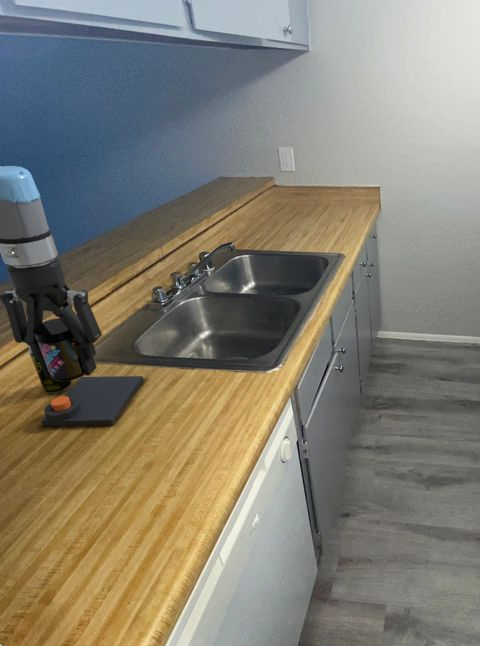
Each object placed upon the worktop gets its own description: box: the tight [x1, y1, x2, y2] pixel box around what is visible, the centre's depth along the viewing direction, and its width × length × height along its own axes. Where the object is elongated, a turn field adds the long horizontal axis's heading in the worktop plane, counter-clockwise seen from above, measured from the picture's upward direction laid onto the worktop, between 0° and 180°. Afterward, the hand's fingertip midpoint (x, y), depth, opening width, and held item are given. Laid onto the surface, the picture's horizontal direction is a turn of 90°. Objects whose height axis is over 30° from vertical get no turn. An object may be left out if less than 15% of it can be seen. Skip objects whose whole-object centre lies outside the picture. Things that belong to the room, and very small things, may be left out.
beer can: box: [28, 345, 72, 395], centre depth 108 cm, size 5×5×12 cm
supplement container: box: [33, 317, 86, 381], centre depth 89 cm, size 7×7×10 cm
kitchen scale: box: [40, 375, 144, 427], centre depth 106 cm, size 14×16×3 cm
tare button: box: [50, 395, 71, 412], centre depth 100 cm, size 3×3×2 cm
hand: (71, 371), depth 92 cm, fingers closed on supplement container, 7 cm apart
